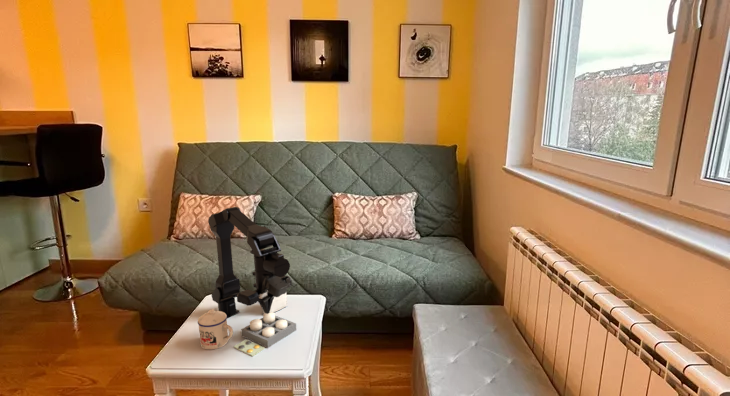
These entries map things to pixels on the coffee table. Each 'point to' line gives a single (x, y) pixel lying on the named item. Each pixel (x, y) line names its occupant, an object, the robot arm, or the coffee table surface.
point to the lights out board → (257, 337)
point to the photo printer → (278, 303)
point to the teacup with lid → (214, 329)
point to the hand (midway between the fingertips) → (267, 313)
